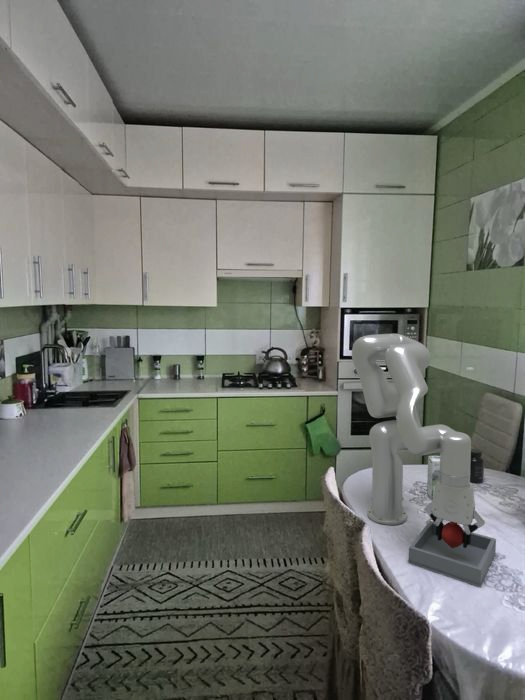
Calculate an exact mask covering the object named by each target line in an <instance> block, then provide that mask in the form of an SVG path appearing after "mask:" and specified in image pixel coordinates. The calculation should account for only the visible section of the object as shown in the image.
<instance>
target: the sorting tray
mask: <svg viewBox="0 0 525 700" xmlns="http://www.w3.org/2000/svg"><path fill="white" fill-rule="evenodd" d="M463 531H464V532H465V529H463ZM496 545H497V538H494V537H491V536H486V535H482V534H480V533H477V532H472V533H471V543H470V545H469V544H468V546H467V547H466V548H464V547H463V543H462V544H461V545H460V546H458V547H455V548H451V547H450V546H449V545H448V544H447V543H446V542H445V541H444V540H443V538H442V539H441V540H440V541H439V540H438V535H436V525H435V523H434V521H433V520H432V521H431V520H429V521H428V522H427V523H426V524H425V526H424V528H423V529H422V530H421V531H420V533H419V534H418V535H417V537H415V539H414V540H413V541H412V542H411V544H410V545H409V546H408V559H407V560H408V562H407V564H410V565H412V566H417V567H419V568H422V569H425V570H428V571H431V572H434V573H437V574H440V575H442V576H446V577H447V578H452V579H454V580H457V581H461V582H463V583H467V584H470V585H472V586H475V587H478V588H481V587H482V585H483V583H484V581H485V578H486V576H487V573H488V572H489V570H490V567H491V565H492V564H493V563H492V562H493V560H494V558H495V556H496V547H497V546H496Z"/></svg>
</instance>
